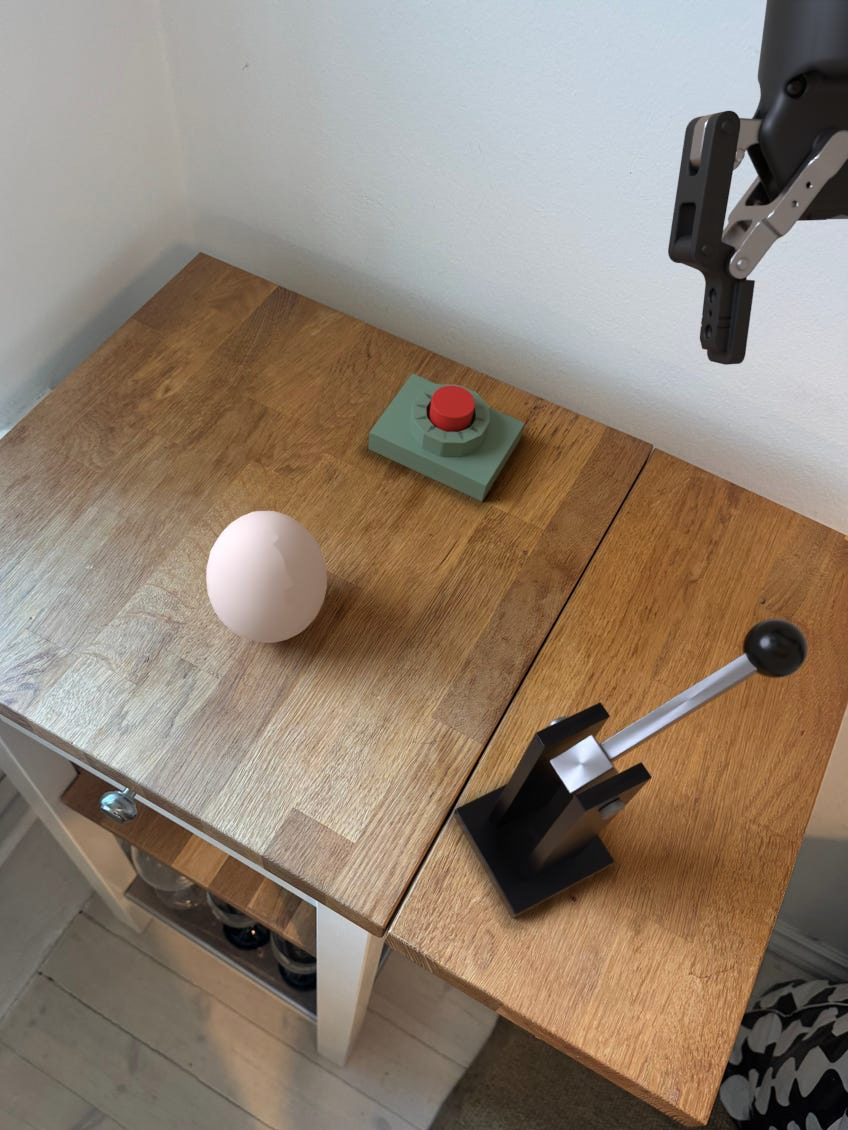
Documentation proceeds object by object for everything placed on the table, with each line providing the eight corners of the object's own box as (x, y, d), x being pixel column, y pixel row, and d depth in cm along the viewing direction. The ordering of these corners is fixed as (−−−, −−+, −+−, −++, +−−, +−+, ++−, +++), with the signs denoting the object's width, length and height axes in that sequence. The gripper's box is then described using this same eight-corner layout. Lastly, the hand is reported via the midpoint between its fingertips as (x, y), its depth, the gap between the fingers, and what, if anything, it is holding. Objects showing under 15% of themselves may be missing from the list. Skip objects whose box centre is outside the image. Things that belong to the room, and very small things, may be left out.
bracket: (548, 767, 67) (611, 667, 53) (610, 866, 64) (695, 787, 50) (452, 814, 65) (493, 723, 51) (511, 919, 61) (572, 851, 48)
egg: (304, 558, 74) (305, 465, 64) (341, 647, 71) (347, 564, 61) (199, 586, 72) (182, 496, 62) (231, 680, 69) (218, 600, 59)
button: (440, 393, 79) (443, 379, 77) (478, 410, 78) (482, 395, 77) (421, 421, 77) (424, 406, 76) (460, 438, 77) (463, 424, 75)
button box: (410, 390, 84) (414, 357, 80) (520, 440, 82) (529, 408, 78) (368, 449, 80) (370, 417, 77) (482, 502, 78) (490, 471, 75)
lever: (780, 616, 52) (783, 600, 49) (818, 662, 50) (822, 648, 47) (553, 759, 54) (542, 751, 51) (583, 807, 53) (574, 801, 50)
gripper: (765, -80, 34) (711, 378, 40) (1097, -72, 36) (995, 359, 43) (665, -28, 40) (633, 357, 47) (951, -24, 43) (882, 342, 49)
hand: (805, 357), depth 45 cm, fingers open, 8 cm apart
